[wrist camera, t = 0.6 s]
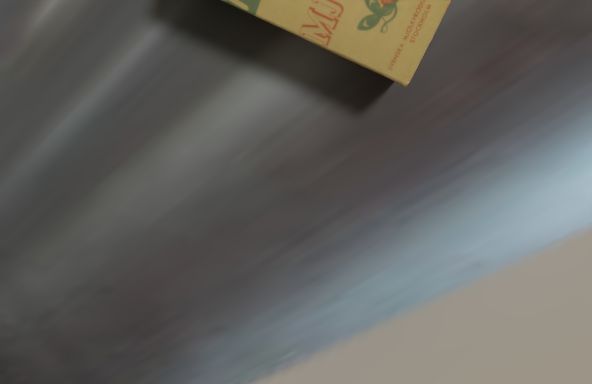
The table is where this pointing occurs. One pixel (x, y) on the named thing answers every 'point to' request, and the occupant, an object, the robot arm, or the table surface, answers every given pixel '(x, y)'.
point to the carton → (359, 29)
